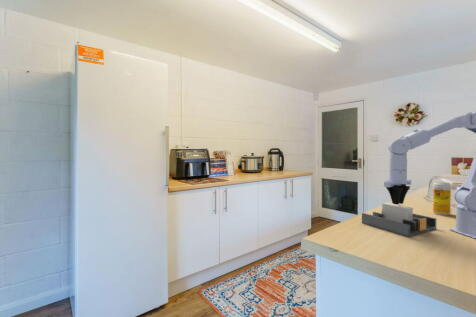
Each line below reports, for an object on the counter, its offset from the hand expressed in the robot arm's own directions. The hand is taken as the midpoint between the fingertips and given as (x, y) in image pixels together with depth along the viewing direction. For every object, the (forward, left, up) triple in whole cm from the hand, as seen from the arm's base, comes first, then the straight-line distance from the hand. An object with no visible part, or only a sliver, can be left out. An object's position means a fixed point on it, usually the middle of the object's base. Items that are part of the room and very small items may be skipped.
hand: (397, 203), depth 94 cm
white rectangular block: (0, 0, -8) cm, 8 cm away
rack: (0, 0, -9) cm, 9 cm away
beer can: (+13, -33, -9) cm, 37 cm away
